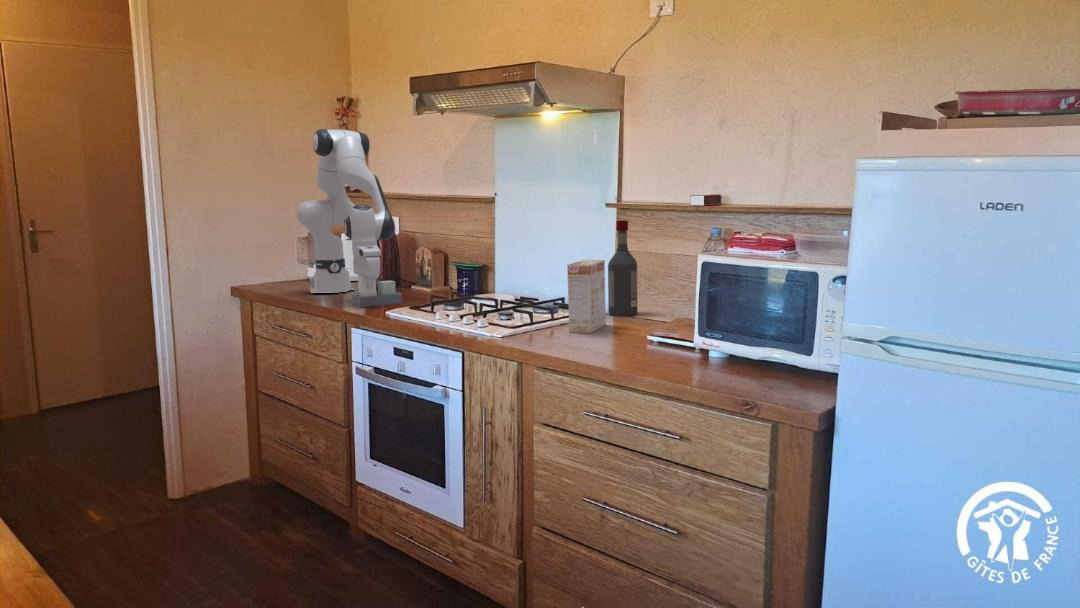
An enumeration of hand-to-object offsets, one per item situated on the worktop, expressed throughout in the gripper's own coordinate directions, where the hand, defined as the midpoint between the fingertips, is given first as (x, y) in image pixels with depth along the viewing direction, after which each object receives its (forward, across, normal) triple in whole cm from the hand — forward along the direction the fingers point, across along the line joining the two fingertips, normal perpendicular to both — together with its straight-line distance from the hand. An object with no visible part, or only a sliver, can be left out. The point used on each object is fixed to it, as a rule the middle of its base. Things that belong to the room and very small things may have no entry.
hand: (367, 288), depth 276 cm
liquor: (+7, +74, +60) cm, 96 cm away
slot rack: (+7, 0, +4) cm, 8 cm away
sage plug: (+6, 0, +7) cm, 10 cm away
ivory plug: (+3, 0, 0) cm, 3 cm away
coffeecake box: (+7, +89, +36) cm, 96 cm away
